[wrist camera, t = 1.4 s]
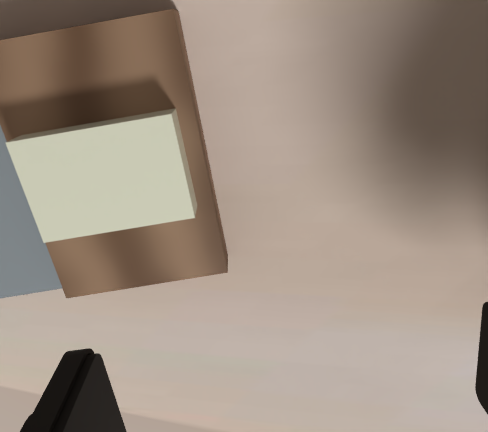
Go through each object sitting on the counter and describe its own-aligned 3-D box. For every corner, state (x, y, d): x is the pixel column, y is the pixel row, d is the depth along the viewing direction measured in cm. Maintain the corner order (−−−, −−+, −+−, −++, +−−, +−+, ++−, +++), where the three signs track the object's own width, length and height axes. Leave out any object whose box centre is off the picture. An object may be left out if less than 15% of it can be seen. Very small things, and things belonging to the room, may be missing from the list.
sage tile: (175, 108, 24) (171, 113, 23) (197, 205, 27) (194, 217, 25) (21, 135, 25) (5, 142, 23) (56, 229, 27) (43, 242, 25)
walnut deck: (178, 11, 25) (173, 8, 22) (227, 254, 31) (227, 272, 29) (-6, 45, 25) (-30, 45, 23) (78, 279, 31) (66, 298, 29)
